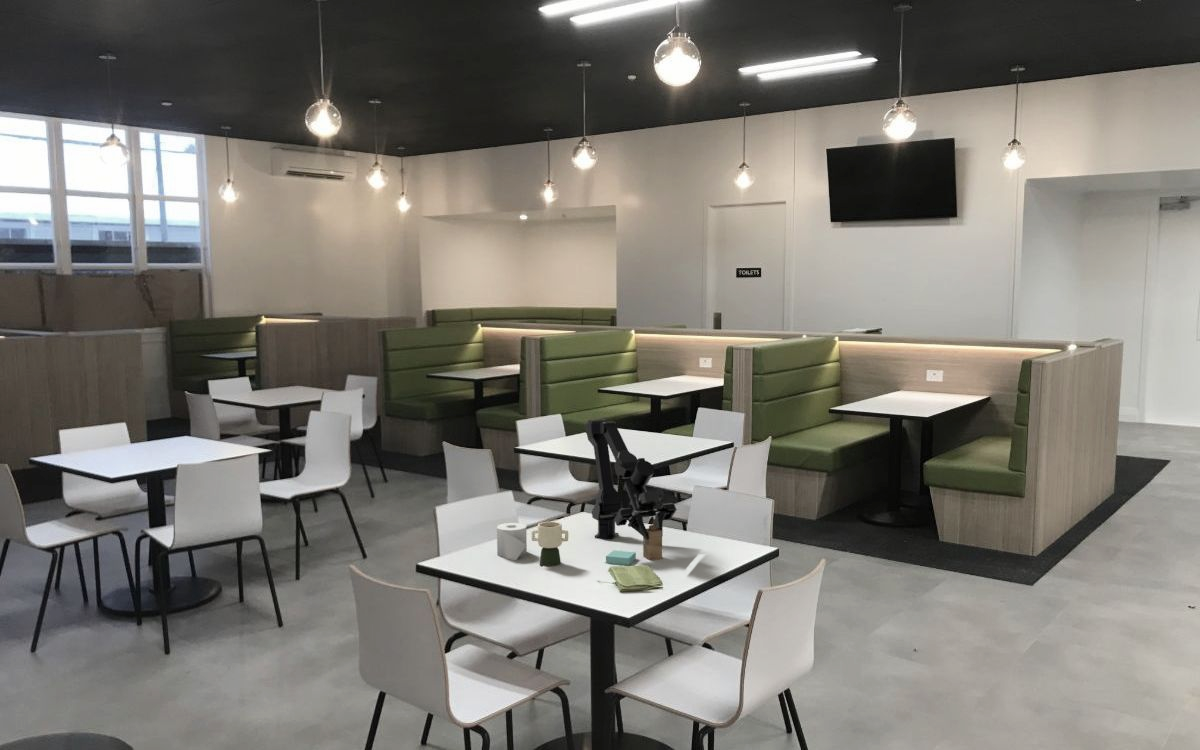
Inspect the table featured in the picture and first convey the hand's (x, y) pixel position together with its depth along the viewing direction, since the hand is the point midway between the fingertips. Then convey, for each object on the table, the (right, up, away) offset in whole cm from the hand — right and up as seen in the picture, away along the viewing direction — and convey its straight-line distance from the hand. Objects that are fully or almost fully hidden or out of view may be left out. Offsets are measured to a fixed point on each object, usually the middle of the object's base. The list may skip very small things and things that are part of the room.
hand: (654, 538), depth 272 cm
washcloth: (-7, -10, -17) cm, 21 cm away
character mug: (-31, -8, -3) cm, 32 cm away
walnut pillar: (-1, -6, +2) cm, 7 cm away
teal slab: (-10, -6, -1) cm, 12 cm away
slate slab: (-10, -8, -1) cm, 13 cm away
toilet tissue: (-43, -7, +11) cm, 45 cm away
